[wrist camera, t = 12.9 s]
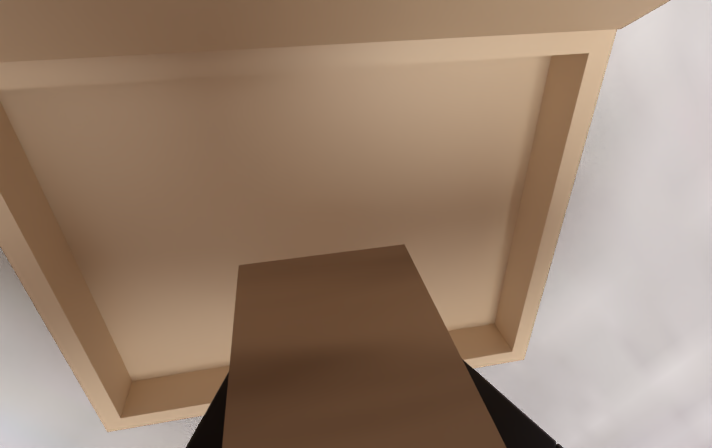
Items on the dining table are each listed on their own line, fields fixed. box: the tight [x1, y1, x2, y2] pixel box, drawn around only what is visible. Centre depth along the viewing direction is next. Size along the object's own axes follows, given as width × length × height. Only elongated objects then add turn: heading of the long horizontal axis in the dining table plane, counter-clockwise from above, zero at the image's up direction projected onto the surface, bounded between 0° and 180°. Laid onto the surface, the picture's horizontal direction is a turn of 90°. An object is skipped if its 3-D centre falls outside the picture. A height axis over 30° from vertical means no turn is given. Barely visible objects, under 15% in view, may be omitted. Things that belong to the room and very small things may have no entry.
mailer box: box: [0, 29, 617, 432], centre depth 13 cm, size 12×15×2 cm
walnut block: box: [222, 244, 506, 448], centre depth 9 cm, size 4×4×6 cm
